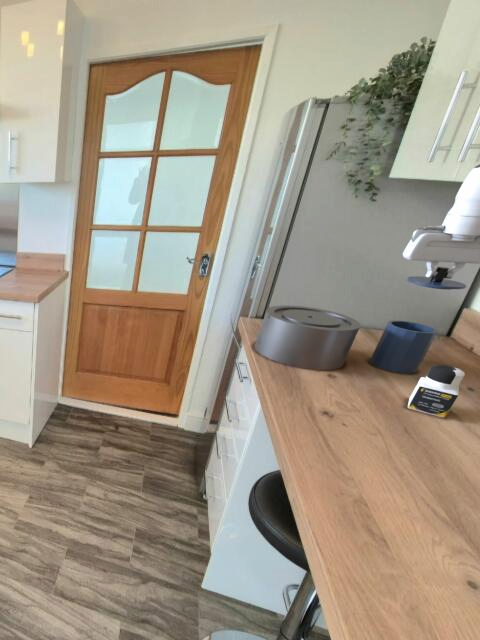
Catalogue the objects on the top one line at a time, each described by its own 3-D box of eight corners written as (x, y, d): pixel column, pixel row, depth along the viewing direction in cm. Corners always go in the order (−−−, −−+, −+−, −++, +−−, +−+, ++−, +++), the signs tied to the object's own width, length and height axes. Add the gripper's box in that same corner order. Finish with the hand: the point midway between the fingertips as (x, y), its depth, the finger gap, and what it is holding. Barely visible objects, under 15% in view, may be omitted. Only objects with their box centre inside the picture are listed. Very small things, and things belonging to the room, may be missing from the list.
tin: (405, 362, 141) (425, 323, 134) (423, 376, 131) (446, 335, 125) (363, 356, 144) (381, 318, 138) (378, 370, 135) (398, 330, 129)
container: (361, 372, 133) (380, 332, 127) (273, 366, 137) (287, 327, 131) (317, 343, 155) (332, 307, 149) (243, 338, 159) (254, 303, 153)
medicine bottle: (407, 408, 114) (429, 367, 109) (408, 399, 119) (430, 359, 113) (444, 418, 110) (469, 377, 104) (445, 408, 114) (469, 368, 109)
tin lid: (449, 282, 126) (458, 264, 124) (474, 293, 116) (485, 274, 114) (397, 278, 130) (405, 261, 128) (417, 288, 120) (427, 270, 118)
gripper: (424, 226, 116) (400, 277, 122) (521, 230, 111) (491, 283, 117) (410, 223, 121) (388, 272, 128) (502, 226, 116) (474, 277, 122)
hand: (438, 277), depth 122 cm, fingers closed on tin lid, 2 cm apart
